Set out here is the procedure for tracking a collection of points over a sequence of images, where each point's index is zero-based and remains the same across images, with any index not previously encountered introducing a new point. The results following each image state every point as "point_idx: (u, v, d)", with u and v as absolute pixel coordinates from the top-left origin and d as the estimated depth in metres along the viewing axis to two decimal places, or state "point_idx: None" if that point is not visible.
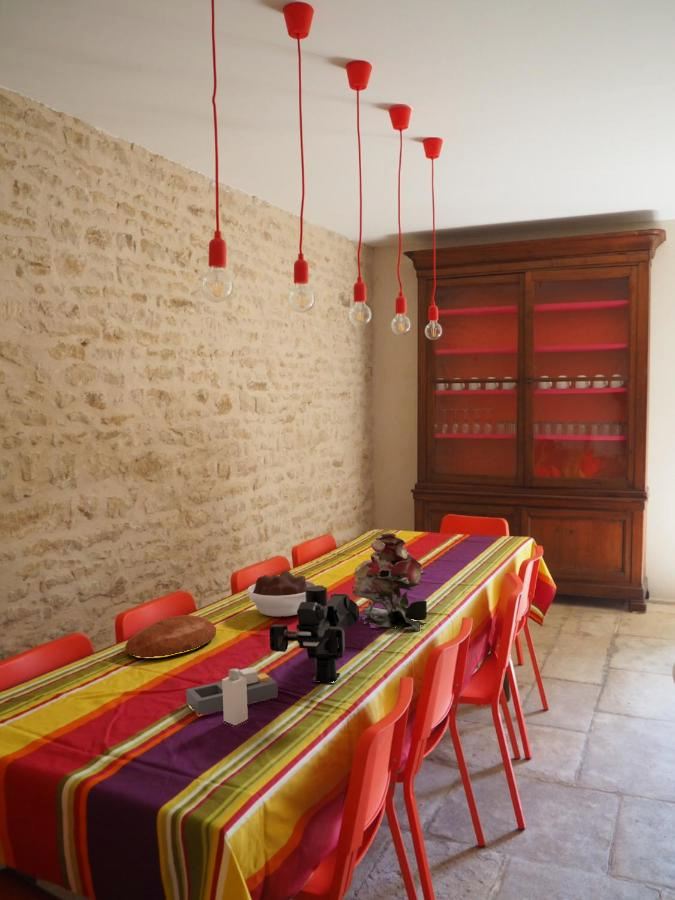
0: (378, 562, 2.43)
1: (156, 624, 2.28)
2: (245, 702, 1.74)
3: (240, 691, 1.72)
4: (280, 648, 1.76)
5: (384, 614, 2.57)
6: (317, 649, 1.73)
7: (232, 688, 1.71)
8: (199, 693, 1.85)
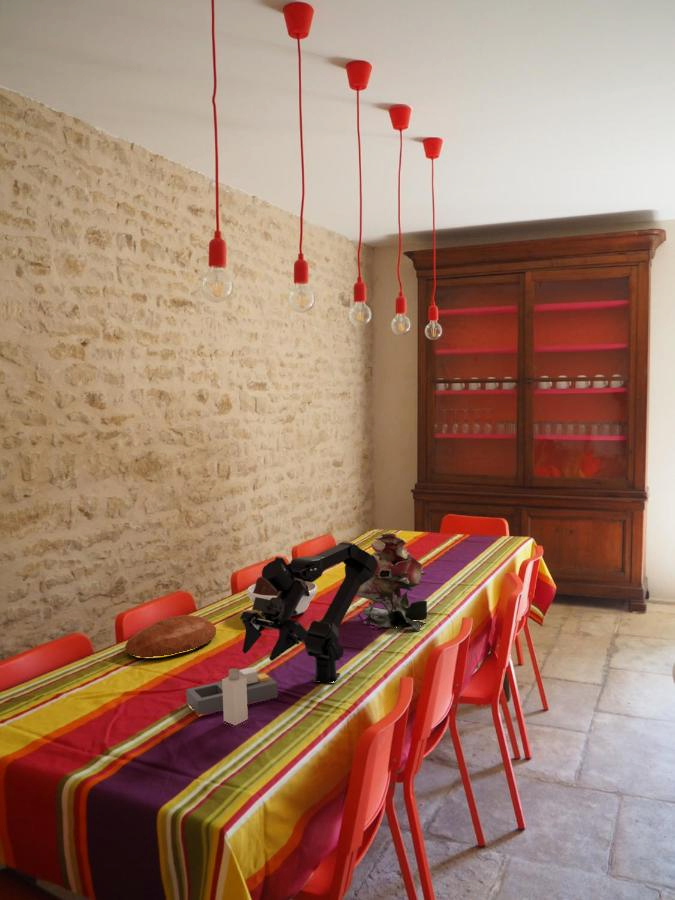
0: (378, 562, 2.43)
1: (156, 624, 2.28)
2: (245, 702, 1.74)
3: (240, 691, 1.72)
4: (246, 649, 1.82)
5: (384, 614, 2.57)
6: (271, 657, 1.76)
7: (232, 688, 1.71)
8: (199, 693, 1.85)
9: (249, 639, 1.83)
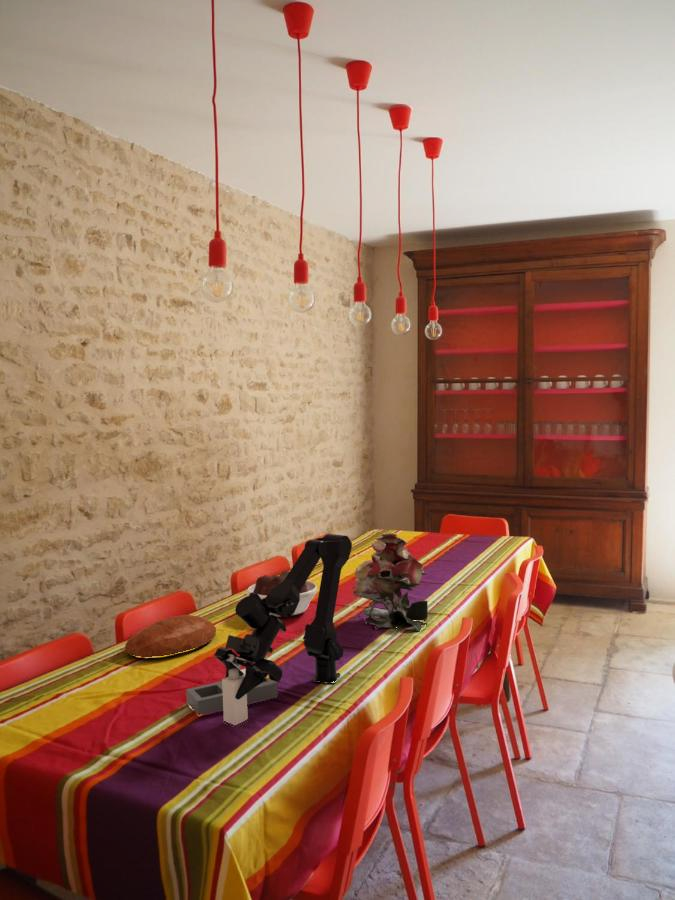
0: (379, 562, 2.42)
1: (156, 624, 2.28)
2: (245, 702, 1.74)
3: None
4: None
5: (385, 614, 2.57)
6: (237, 696, 1.71)
7: (232, 688, 1.71)
8: (199, 693, 1.85)
9: None
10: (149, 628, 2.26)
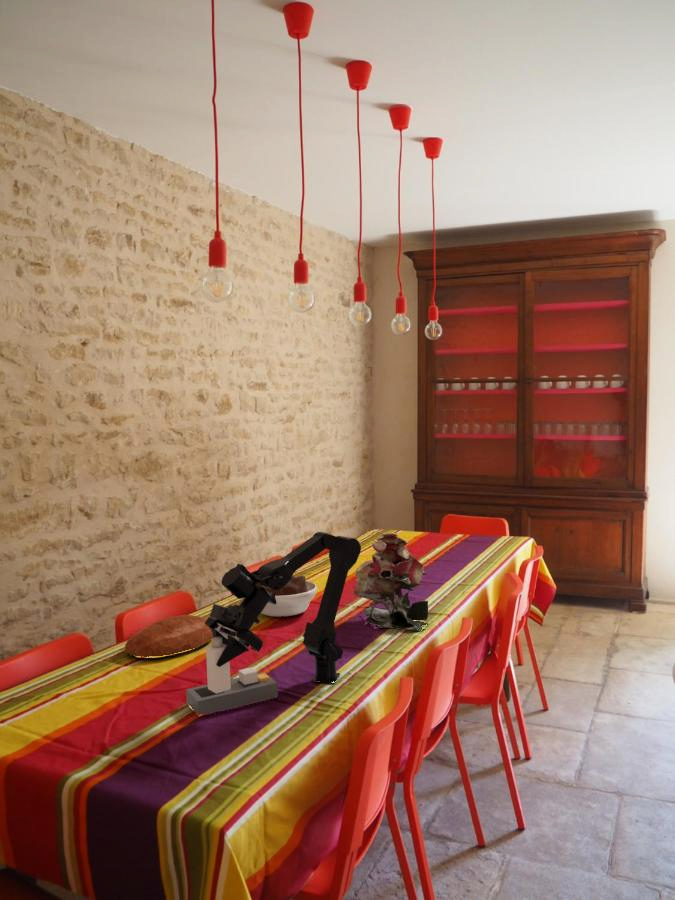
0: (380, 562, 2.42)
1: (156, 624, 2.28)
2: (227, 670, 1.77)
3: None
4: None
5: (385, 614, 2.57)
6: (218, 664, 1.75)
7: (213, 655, 1.75)
8: (199, 693, 1.85)
9: None
10: (149, 628, 2.26)
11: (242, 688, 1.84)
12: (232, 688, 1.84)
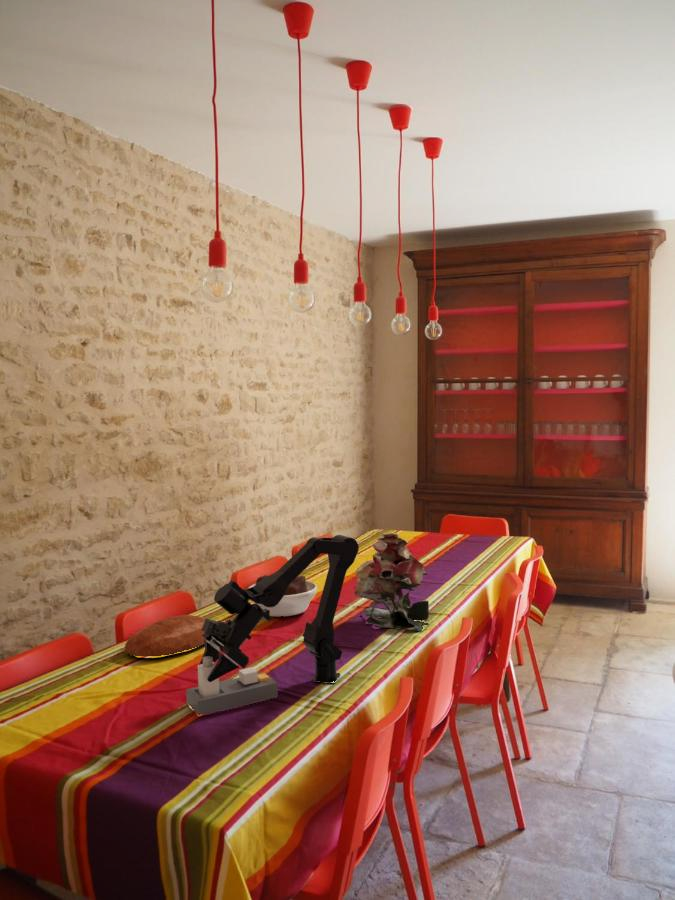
0: (380, 562, 2.42)
1: (156, 624, 2.28)
2: (217, 689, 1.82)
3: None
4: None
5: (386, 614, 2.57)
6: (209, 679, 1.79)
7: (202, 674, 1.81)
8: None
9: None
10: (149, 628, 2.26)
11: (242, 688, 1.84)
12: (232, 688, 1.84)
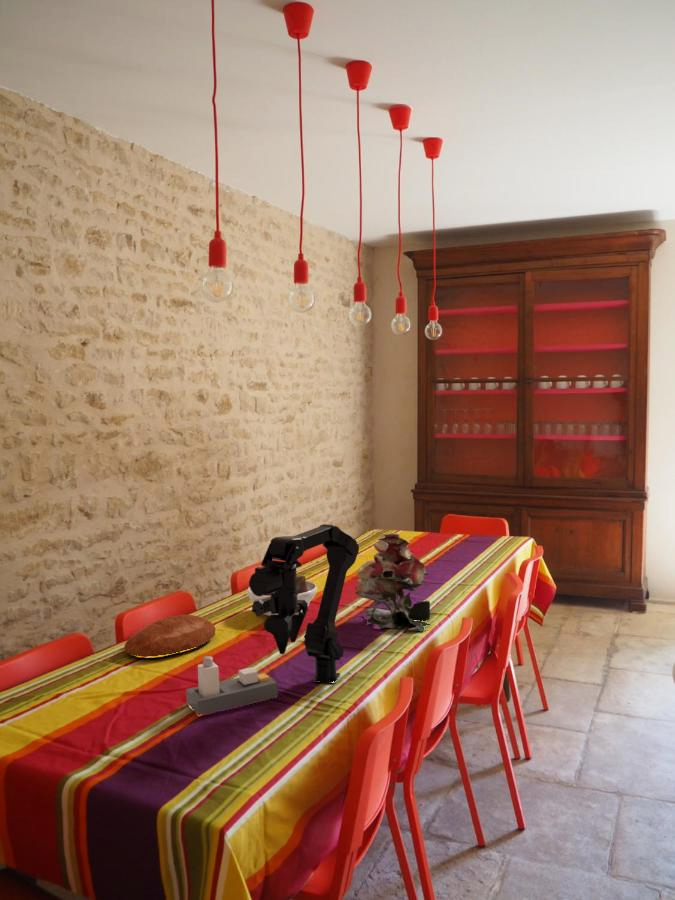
0: (381, 563, 2.42)
1: (155, 624, 2.29)
2: (217, 689, 1.82)
3: (210, 678, 1.81)
4: (293, 639, 1.91)
5: (387, 615, 2.56)
6: (280, 652, 1.82)
7: (202, 674, 1.81)
8: None
9: None
10: (148, 628, 2.26)
11: (242, 688, 1.84)
12: (232, 688, 1.84)
